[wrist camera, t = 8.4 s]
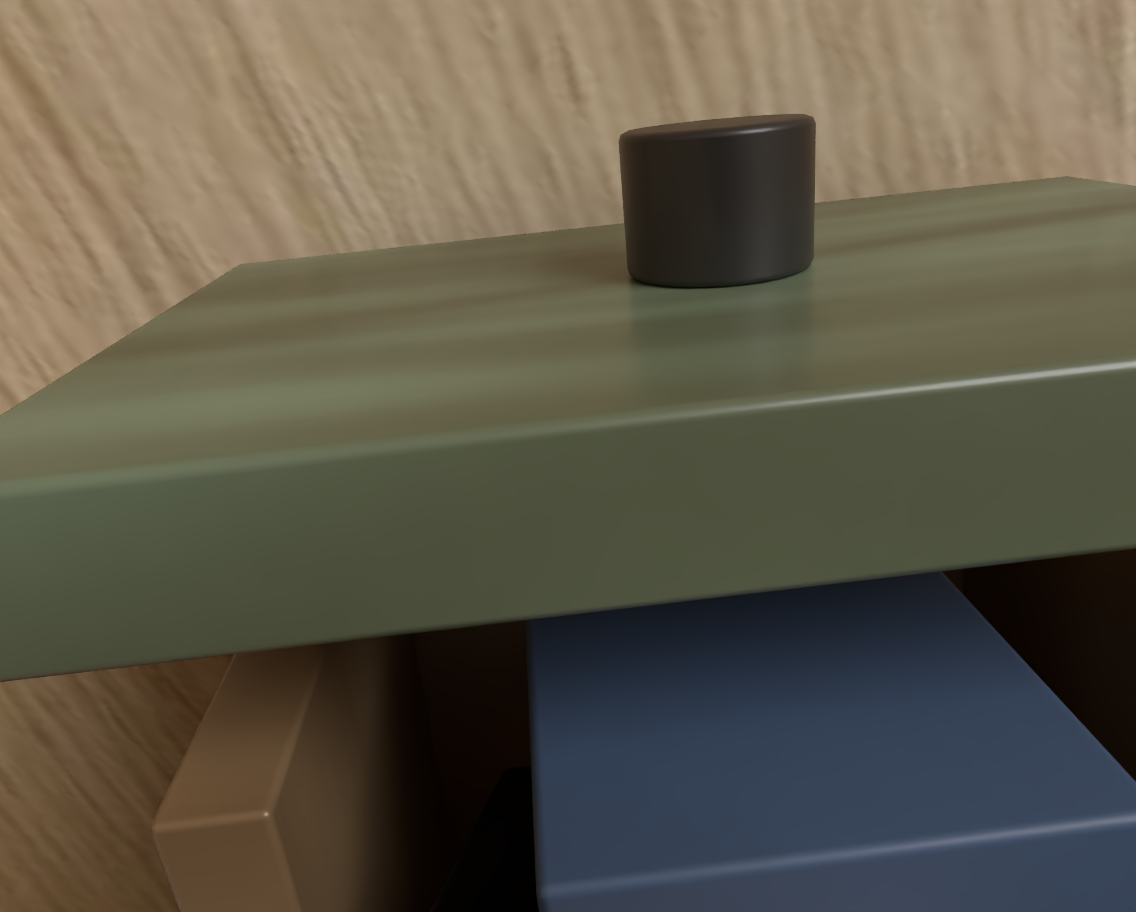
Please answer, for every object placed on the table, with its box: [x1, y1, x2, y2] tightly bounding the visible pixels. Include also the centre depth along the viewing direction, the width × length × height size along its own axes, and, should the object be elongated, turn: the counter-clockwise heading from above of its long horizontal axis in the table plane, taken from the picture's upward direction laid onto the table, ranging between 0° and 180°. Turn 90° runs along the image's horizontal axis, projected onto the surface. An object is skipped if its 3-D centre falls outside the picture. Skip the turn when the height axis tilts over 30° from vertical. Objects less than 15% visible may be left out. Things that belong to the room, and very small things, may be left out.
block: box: [525, 571, 1136, 912], centre depth 8 cm, size 4×4×4 cm
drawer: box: [0, 114, 1136, 912], centre depth 10 cm, size 15×10×7 cm
